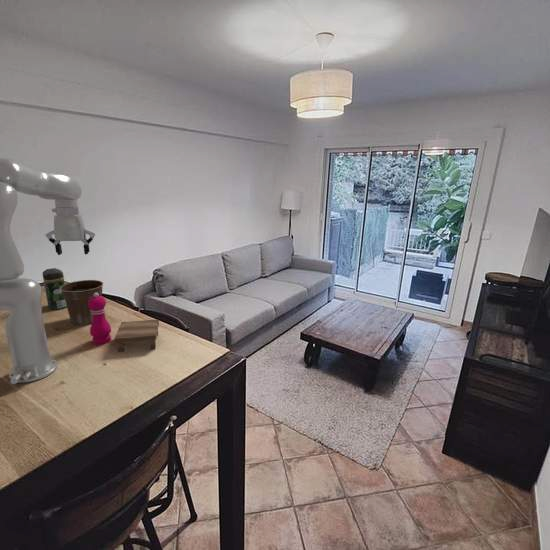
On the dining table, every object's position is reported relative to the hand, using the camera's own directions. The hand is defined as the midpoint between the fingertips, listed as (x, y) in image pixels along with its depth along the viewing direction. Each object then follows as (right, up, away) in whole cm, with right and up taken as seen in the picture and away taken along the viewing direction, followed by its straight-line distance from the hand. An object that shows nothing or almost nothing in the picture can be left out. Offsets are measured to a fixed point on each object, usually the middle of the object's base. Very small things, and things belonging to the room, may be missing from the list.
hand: (73, 254), depth 131 cm
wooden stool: (+30, -35, -7) cm, 46 cm away
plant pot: (-1, -29, +11) cm, 31 cm away
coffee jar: (-22, -24, +23) cm, 40 cm away
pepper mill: (+15, -34, -6) cm, 38 cm away
